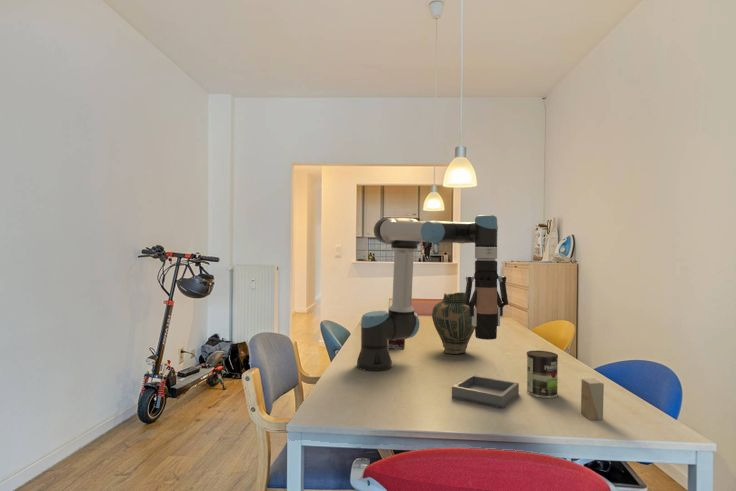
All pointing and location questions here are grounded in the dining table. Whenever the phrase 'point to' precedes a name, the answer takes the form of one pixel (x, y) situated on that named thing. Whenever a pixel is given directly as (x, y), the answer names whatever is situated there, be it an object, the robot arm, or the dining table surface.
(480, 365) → the dining table surface
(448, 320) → the vase
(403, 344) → the supplement box
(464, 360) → the dining table surface
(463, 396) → the bin
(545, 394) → the coffee can
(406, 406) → the dining table surface
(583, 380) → the box
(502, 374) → the dining table surface
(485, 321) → the travel mug
